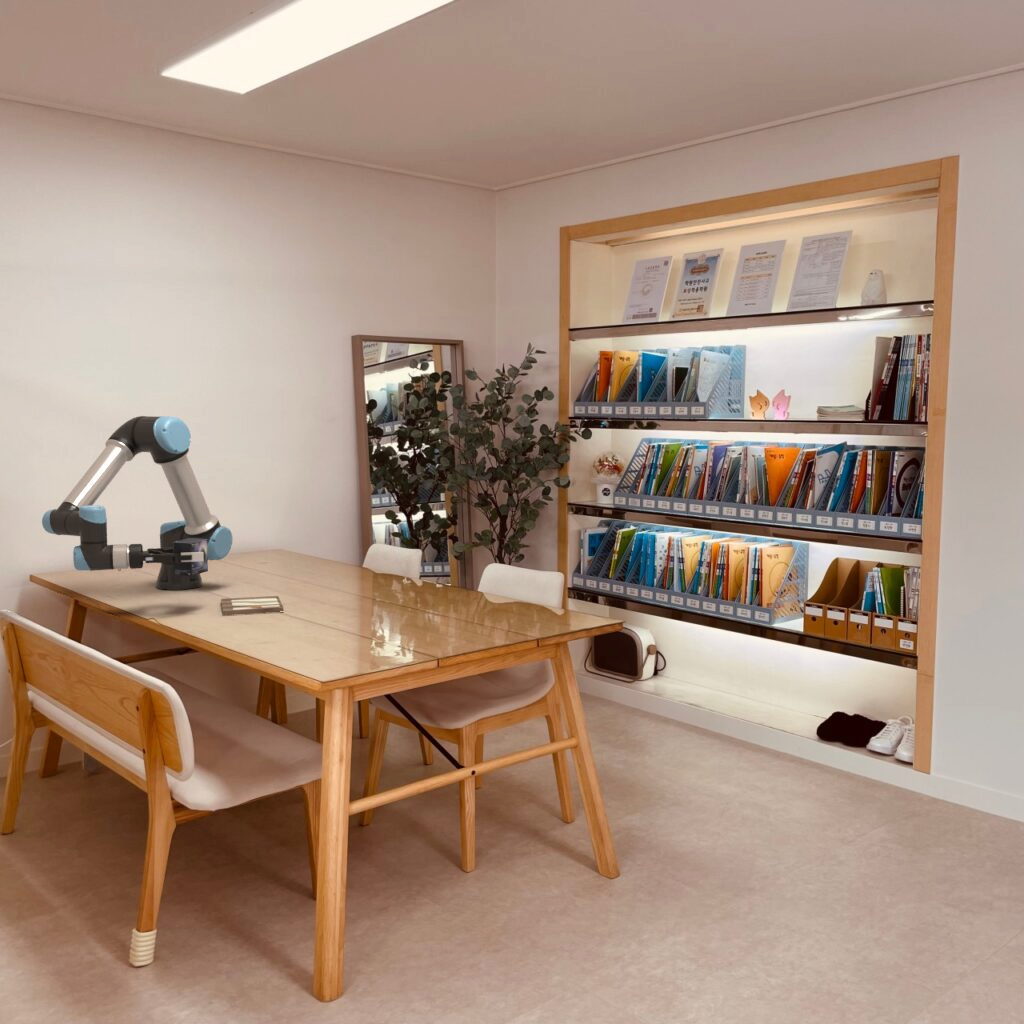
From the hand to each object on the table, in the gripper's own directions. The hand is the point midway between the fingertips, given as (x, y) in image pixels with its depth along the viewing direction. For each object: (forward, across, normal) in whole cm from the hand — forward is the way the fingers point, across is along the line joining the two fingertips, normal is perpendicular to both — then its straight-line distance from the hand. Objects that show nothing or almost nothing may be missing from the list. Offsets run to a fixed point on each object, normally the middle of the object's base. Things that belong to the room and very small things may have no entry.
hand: (203, 553), depth 324 cm
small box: (-4, 0, -6) cm, 7 cm away
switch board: (+14, -1, -18) cm, 23 cm away
